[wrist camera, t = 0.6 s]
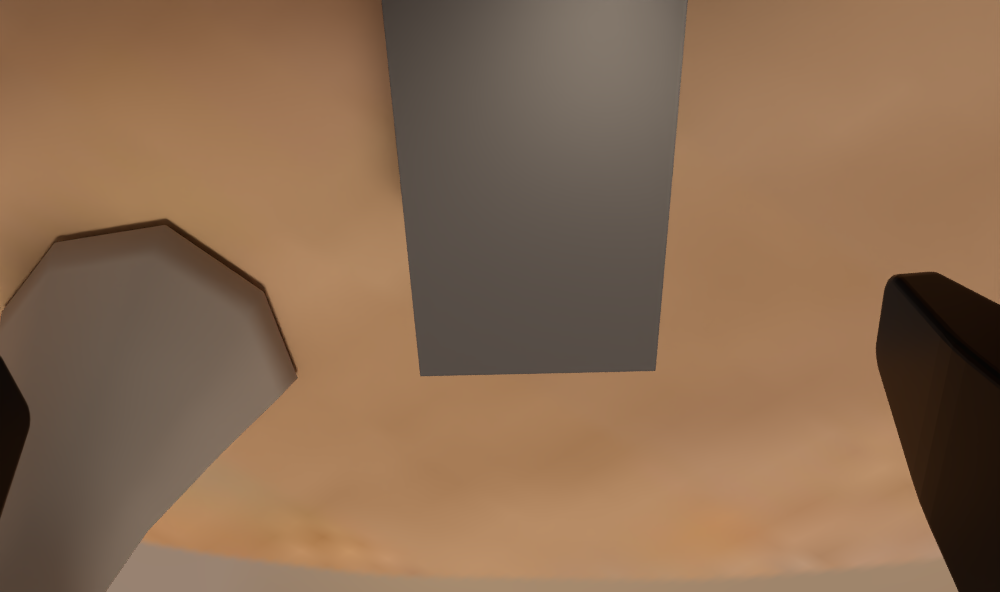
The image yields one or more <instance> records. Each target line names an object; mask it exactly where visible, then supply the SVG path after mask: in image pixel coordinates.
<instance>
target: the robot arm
mask: <svg viewBox="0 0 1000 592" xmlns="http://www.w3.org/2000/svg"><path fill="white" fill-rule="evenodd" d="M876 358H877V364H878V369H879V372H880V375H881V379H882V382H883V385H884V389H885V392H886V395H887V399H888V402H889V405H890V409H891V412H892V415H893V418H894V422H895V425H896V428H897V432H898V435H899V438H900V442H901V445H902V448H903V451H904V455H905V458H906V461H907V465H908V468H909V471H910V475H911V478H912V481H913V484H914V487H915V490H916V493H917V496H918V499H919V502H920V505H921V507H922V509H923V512H924V514H925V517H926V519H927V522H928V524H929V526H930V529H931V531H932V533H933V535H934V538H935V540H936V542H937V544H938V547H939V549H940V551H941V553H942V556H943V558H944V560H945V562H946V564H947V567H948V569H949V571H950V573H951V576H952V578H953V580H954V582H955V585H956V587H957V589H958V591H959V592H1000V305H999V304H997V303H995V302H993V301H991V300H990V299H988V298H986V297H984V296H982V295H980V294H978V293H976V292H974V291H972V290H970V289H968V288H966V287H964V286H962V285H961V284H959V283H957V282H955V281H953V280H951V279H949V278H947V277H945V276H943V275H941V274H939V273H936V272H919V273H908V274H896V275H893V276H892V277H891V278H890V279H889V280H888V282H887V284H886V286H885V290H884V295H883V302H882V309H881V315H880V322H879V328H878V335H877V342H876ZM30 420H31V419H30V411H29V407H28V404H27V402H26V400H25V398H24V396H23V395H22V393H21V391H20V389H19V387H18V386H17V384H16V382H15V380H14V378H13V376H12V375H11V373H10V371H9V369H8V367H7V366H6V364H5V362H4V360H3V358H2V357H1V356H0V518H1V515H2V512H3V509H4V506H5V503H6V500H7V497H8V494H9V490H10V487H11V484H12V481H13V478H14V475H15V472H16V469H17V466H18V463H19V460H20V457H21V454H22V450H23V447H24V444H25V441H26V438H27V435H28V432H29V428H30Z"/></svg>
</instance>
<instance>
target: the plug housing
mask: <svg viewBox="0 0 1000 592" xmlns="http://www.w3.org/2000/svg"><path fill="white" fill-rule="evenodd" d="M687 3H688V0H382V9H383V19H384V29H385V39H386V48H387V58H388V68H389V77H390V87H391V97H392V106H393V116H394V126H395V135H396V145H397V155H398V164H399V174H400V184H401V193H402V203H403V213H404V222H405V232H406V242H407V251H408V261H409V271H410V280H411V290H412V300H413V309H414V319H415V329H416V338H417V348H418V358H419V367H420V376H450V375H494V374H539V373H583V372H627V371H655V369H656V358H657V346H658V335H659V324H660V312H661V301H662V289H663V278H664V266H665V255H666V243H667V232H668V220H669V209H670V197H671V186H672V175H673V163H674V152H675V140H676V129H677V117H678V106H679V94H680V83H681V71H682V60H683V49H684V37H685V26H686V14H687Z"/></svg>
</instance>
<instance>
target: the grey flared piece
mask: <svg viewBox="0 0 1000 592" xmlns="http://www.w3.org/2000/svg"><path fill="white" fill-rule="evenodd" d="M0 356H1V357H2V358H3V360H4V362H5V364H6V366H7V367H8V369H9V371H10V373H11V375H12V376H13V378H14V380H15V382H16V384H17V386H18V387H19V389H20V391H21V393H22V395H23V396H24V398H25V400H26V402H27V404H28V407H29V411H30V419H31V420H30V428H29V432H28V435H27V438H26V441H25V444H24V447H23V450H22V454H21V457H20V460H19V463H18V466H17V469H16V472H15V475H14V478H13V481H12V484H11V487H10V490H9V494H8V497H7V500H6V503H5V506H4V509H3V512H2V515H1V518H0V592H106V591H107V589H108V588H109V586H110V585H111V584H112V582H113V581H114V579H115V578H116V576H117V575H118V573H119V572H120V570H121V569H122V568H123V566H124V564H125V563H126V562H127V560H128V559H129V557H130V556H131V555H132V553H133V552H134V550H135V549H136V547H137V546H138V544H139V543H140V542H141V540H142V539H143V537H144V536H145V534H146V533H147V531H148V530H149V529H150V528H151V527H152V526H153V525H154V524H155V523H156V522H157V521H158V520H159V519H160V518H161V517H162V516H163V514H164V513H165V512H166V511H167V510H168V509H169V508H170V507H171V506H172V505H173V504H174V503H175V502H176V501H177V500H178V499H179V498H180V497H181V495H182V494H183V493H184V492H185V491H186V490H187V489H188V488H189V487H190V486H191V485H192V484H193V483H194V482H195V481H196V480H197V479H198V478H199V477H200V475H201V474H202V473H203V472H204V471H205V470H206V469H207V468H208V467H209V466H210V465H211V464H212V463H213V462H214V461H215V460H216V459H217V458H218V456H219V455H220V454H221V453H222V452H223V451H224V450H225V449H226V448H228V447H229V446H230V445H231V444H232V443H233V442H234V441H235V440H236V439H237V438H238V437H239V436H240V435H241V434H242V433H243V432H244V431H245V430H246V429H247V428H248V427H249V426H250V425H251V424H252V423H253V422H254V421H255V420H256V419H257V418H258V417H259V416H260V415H261V414H263V413H264V412H265V411H266V410H267V409H268V408H269V407H270V406H271V405H272V404H273V403H274V402H275V401H276V400H277V399H278V398H279V397H280V396H281V395H282V394H283V393H284V392H285V391H286V390H287V389H288V387H289V386H290V385H291V384H292V383H293V382H294V381H295V380H296V379H297V375H296V373H295V370H294V367H293V365H292V362H291V360H290V357H289V355H288V352H287V350H286V347H285V345H284V342H283V339H282V337H281V334H280V332H279V329H278V327H277V324H276V322H275V319H274V317H273V314H272V311H271V309H270V306H269V304H268V301H267V299H266V296H265V294H264V292H263V291H262V290H260V289H259V288H257V287H256V286H254V285H253V284H251V283H250V282H248V281H247V280H246V279H244V278H243V277H241V276H240V275H238V274H237V273H235V272H234V271H232V270H231V269H229V268H228V267H226V266H225V265H224V264H222V263H221V262H219V261H218V260H216V259H215V258H213V257H212V256H210V255H209V254H207V253H206V252H204V251H203V250H202V249H200V248H199V247H197V246H196V245H194V244H193V243H191V242H190V241H188V240H187V239H185V238H184V237H182V236H181V235H180V234H178V233H177V232H175V231H174V230H172V229H171V228H169V227H168V226H166V225H161V226H155V227H149V228H142V229H136V230H130V231H124V232H117V233H111V234H105V235H98V236H92V237H86V238H80V239H73V240H67V241H61V242H55V243H54V244H53V245H52V247H51V248H50V249H49V251H48V252H47V253H46V255H45V256H44V257H43V259H42V260H41V261H40V262H39V264H38V265H37V266H36V268H35V269H34V270H33V272H32V273H31V274H30V276H29V277H28V278H27V280H26V281H25V282H24V283H23V285H22V286H21V287H20V289H19V290H18V291H17V293H16V294H15V295H14V297H13V298H12V299H11V301H10V302H9V303H8V304H7V306H6V307H5V308H4V310H3V311H2V314H1V321H0Z"/></svg>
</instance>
